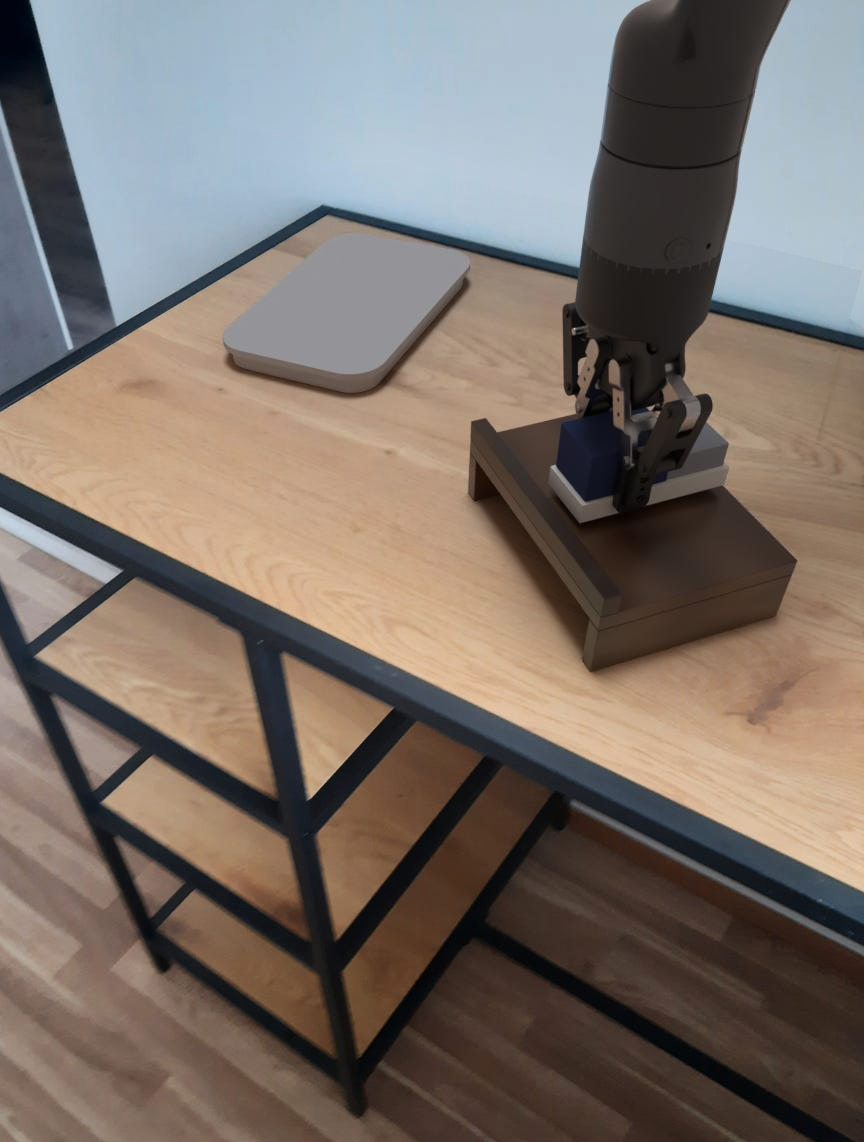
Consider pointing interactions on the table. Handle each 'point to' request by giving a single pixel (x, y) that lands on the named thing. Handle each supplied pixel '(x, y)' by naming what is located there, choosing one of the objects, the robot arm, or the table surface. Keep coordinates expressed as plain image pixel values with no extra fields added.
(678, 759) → the table surface
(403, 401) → the table surface
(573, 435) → the stacked block set
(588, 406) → the robot arm
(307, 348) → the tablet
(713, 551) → the dark wooden stand
